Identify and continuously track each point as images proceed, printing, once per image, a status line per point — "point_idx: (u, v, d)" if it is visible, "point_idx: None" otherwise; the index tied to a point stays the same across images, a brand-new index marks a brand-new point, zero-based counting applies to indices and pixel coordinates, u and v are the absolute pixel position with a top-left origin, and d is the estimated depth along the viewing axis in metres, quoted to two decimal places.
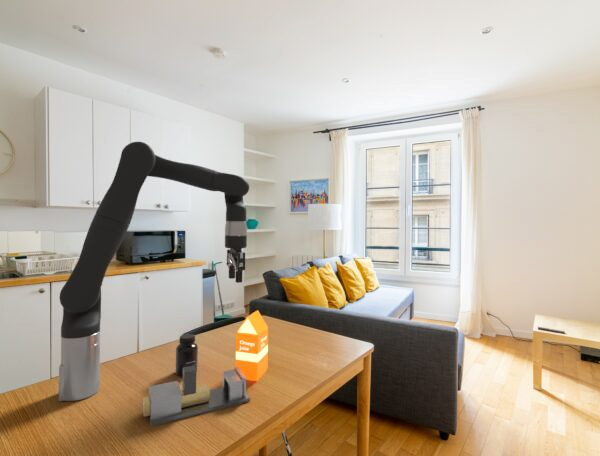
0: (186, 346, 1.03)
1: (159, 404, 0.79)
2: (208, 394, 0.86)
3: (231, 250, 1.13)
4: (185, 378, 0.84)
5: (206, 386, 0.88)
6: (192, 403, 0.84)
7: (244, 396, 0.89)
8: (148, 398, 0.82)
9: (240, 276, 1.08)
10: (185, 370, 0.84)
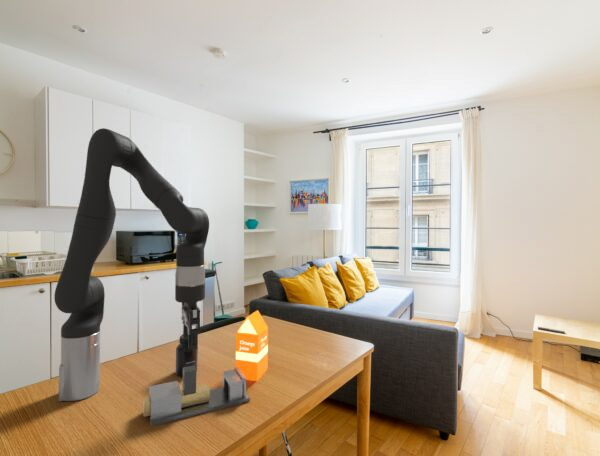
0: (186, 346, 1.03)
1: (159, 404, 0.79)
2: (208, 394, 0.86)
3: (185, 303, 0.86)
4: (185, 378, 0.84)
5: (206, 386, 0.88)
6: (192, 403, 0.84)
7: (244, 396, 0.89)
8: (148, 398, 0.82)
9: (194, 341, 0.81)
10: (185, 370, 0.84)
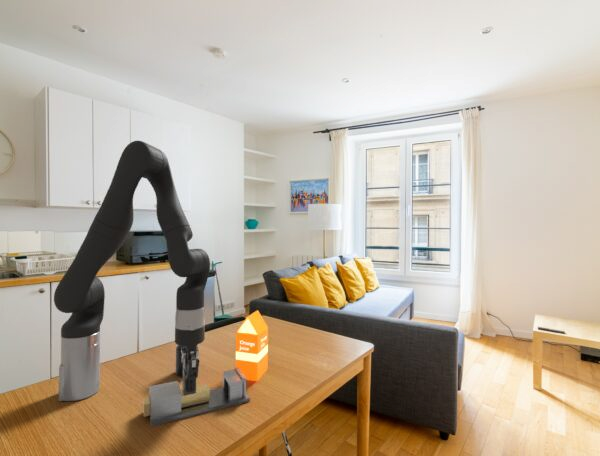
0: None
1: (159, 404, 0.79)
2: (208, 394, 0.86)
3: None
4: (185, 378, 0.84)
5: (206, 386, 0.88)
6: (192, 403, 0.84)
7: (244, 396, 0.89)
8: (148, 398, 0.82)
9: (192, 384, 0.83)
10: (185, 370, 0.84)
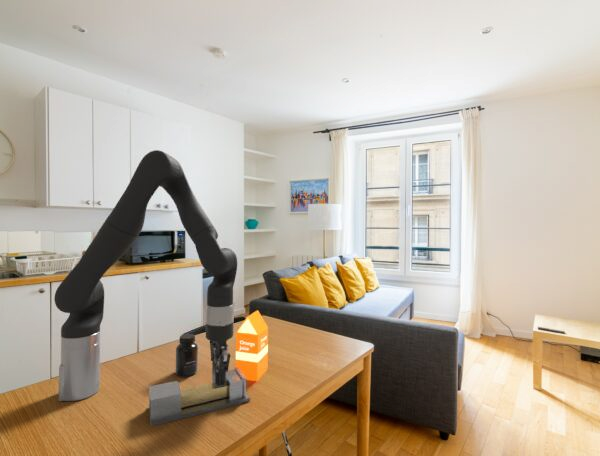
0: (186, 346, 1.03)
1: (159, 404, 0.79)
2: None
3: None
4: (215, 372, 0.88)
5: None
6: (222, 396, 0.88)
7: (244, 396, 0.89)
8: (181, 391, 0.86)
9: (222, 378, 0.87)
10: None
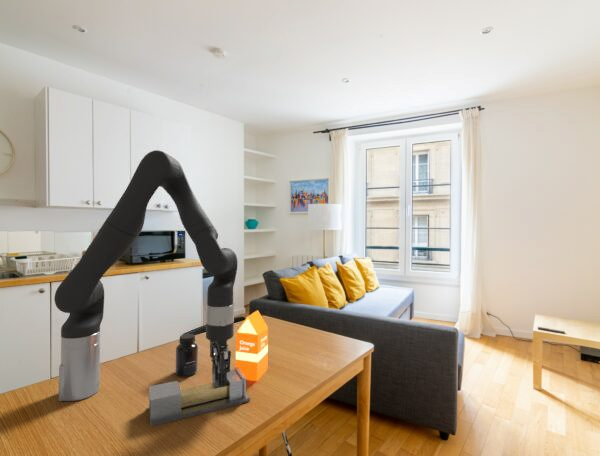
0: (186, 346, 1.03)
1: (159, 404, 0.79)
2: None
3: None
4: (216, 372, 0.88)
5: None
6: (222, 396, 0.88)
7: (244, 396, 0.89)
8: (181, 391, 0.86)
9: (224, 379, 0.86)
10: (216, 365, 0.88)
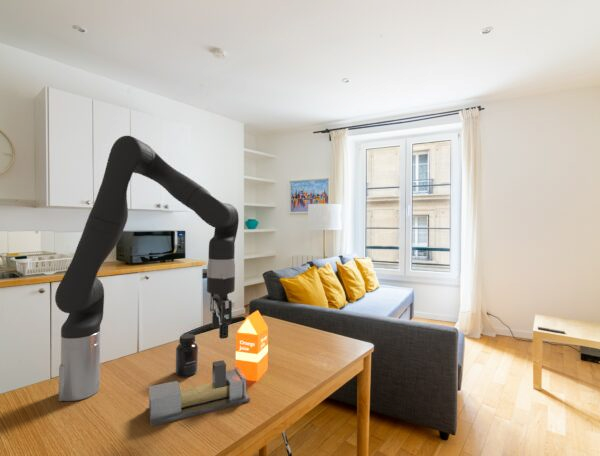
0: (186, 346, 1.03)
1: (159, 404, 0.79)
2: None
3: (215, 294, 0.90)
4: (216, 372, 0.88)
5: None
6: (222, 396, 0.88)
7: (244, 396, 0.89)
8: (181, 391, 0.86)
9: (225, 330, 0.85)
10: (216, 365, 0.88)
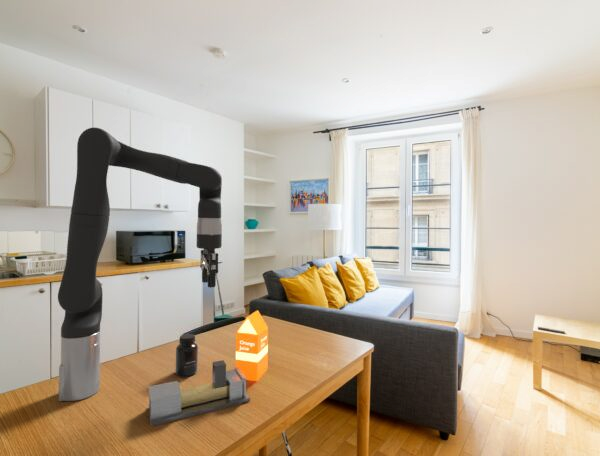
0: (186, 346, 1.03)
1: (159, 404, 0.79)
2: None
3: (204, 251, 1.01)
4: (216, 372, 0.88)
5: None
6: (222, 396, 0.88)
7: (244, 396, 0.89)
8: (181, 391, 0.86)
9: (213, 280, 0.96)
10: (216, 365, 0.88)
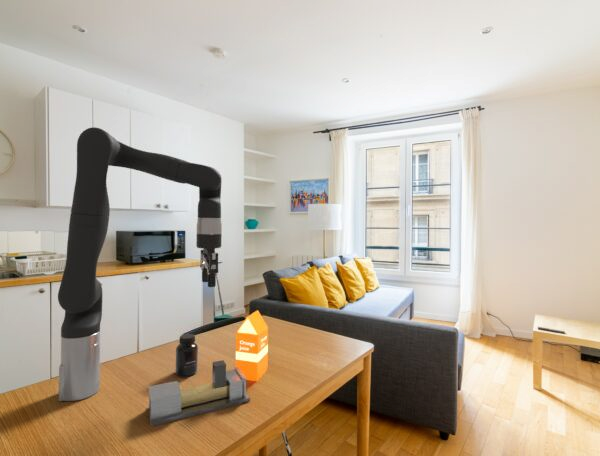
0: (186, 346, 1.03)
1: (159, 404, 0.79)
2: None
3: (204, 250, 1.01)
4: (216, 372, 0.88)
5: None
6: (222, 396, 0.88)
7: (244, 396, 0.89)
8: (181, 391, 0.86)
9: (213, 280, 0.96)
10: (216, 365, 0.88)
